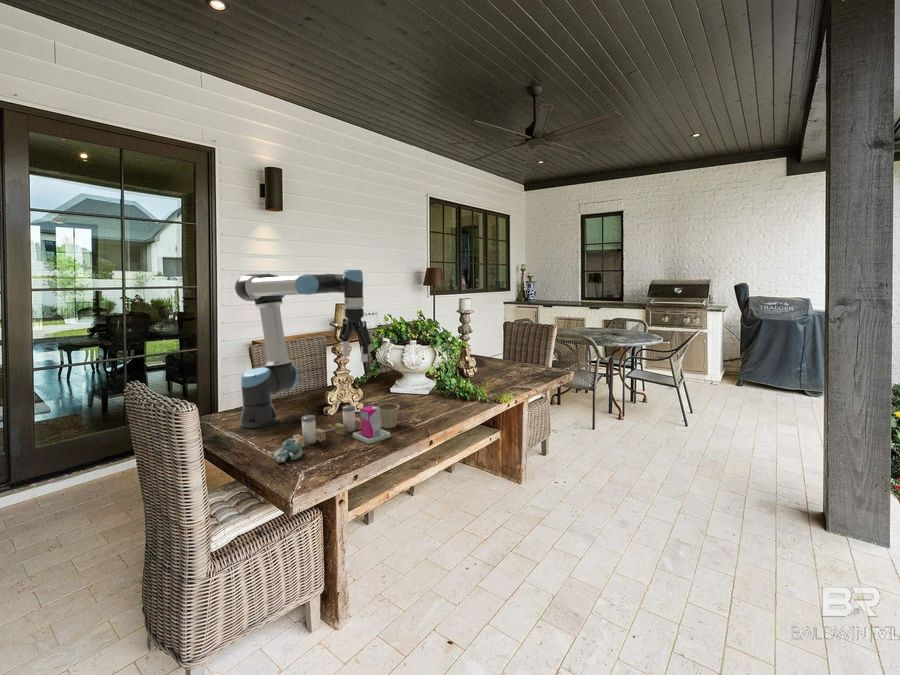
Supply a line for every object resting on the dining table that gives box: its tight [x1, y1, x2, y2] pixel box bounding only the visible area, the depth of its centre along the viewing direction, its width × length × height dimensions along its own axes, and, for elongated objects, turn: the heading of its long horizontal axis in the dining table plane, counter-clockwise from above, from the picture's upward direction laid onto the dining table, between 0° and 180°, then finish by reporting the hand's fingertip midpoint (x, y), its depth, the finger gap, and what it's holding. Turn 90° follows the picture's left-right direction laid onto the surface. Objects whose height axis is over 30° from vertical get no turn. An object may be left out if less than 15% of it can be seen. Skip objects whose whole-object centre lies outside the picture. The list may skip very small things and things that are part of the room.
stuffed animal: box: [272, 438, 304, 463], centre depth 163 cm, size 11×7×12 cm
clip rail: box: [292, 417, 361, 448], centre depth 185 cm, size 8×29×4 cm, turn 135°
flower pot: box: [376, 402, 400, 429], centre depth 195 cm, size 9×9×9 cm
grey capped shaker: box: [341, 404, 357, 434], centre depth 190 cm, size 5×5×10 cm
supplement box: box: [359, 405, 382, 439], centre depth 182 cm, size 6×6×12 cm
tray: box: [352, 428, 392, 445], centre depth 182 cm, size 11×11×2 cm
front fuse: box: [300, 414, 318, 446], centre depth 177 cm, size 5×5×10 cm
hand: (355, 359), depth 190 cm, fingers open, 13 cm apart
